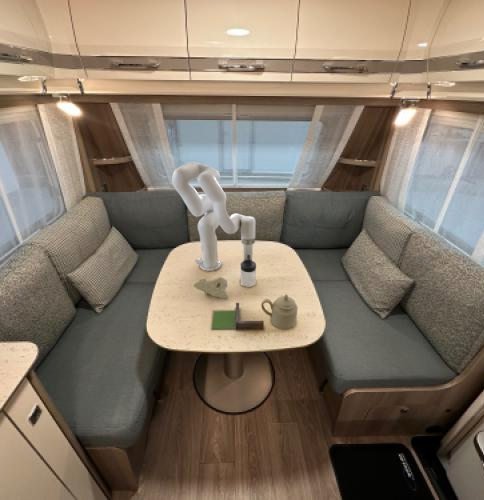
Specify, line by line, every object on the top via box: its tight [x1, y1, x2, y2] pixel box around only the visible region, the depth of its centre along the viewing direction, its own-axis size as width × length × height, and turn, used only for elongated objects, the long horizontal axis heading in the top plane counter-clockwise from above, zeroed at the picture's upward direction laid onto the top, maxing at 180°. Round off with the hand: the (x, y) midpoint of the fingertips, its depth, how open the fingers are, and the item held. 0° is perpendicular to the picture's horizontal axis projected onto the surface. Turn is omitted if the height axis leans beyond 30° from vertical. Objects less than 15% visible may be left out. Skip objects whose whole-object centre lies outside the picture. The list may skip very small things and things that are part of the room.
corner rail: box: [235, 302, 265, 331], centre depth 121 cm, size 12×13×4 cm
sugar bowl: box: [260, 294, 299, 330], centre depth 117 cm, size 15×11×15 cm
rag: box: [211, 310, 236, 330], centre depth 121 cm, size 10×11×1 cm
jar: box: [240, 260, 257, 288], centre depth 142 cm, size 9×8×12 cm
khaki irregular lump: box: [193, 276, 228, 300], centre depth 136 cm, size 15×7×15 cm
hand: (248, 267), depth 151 cm, fingers closed
